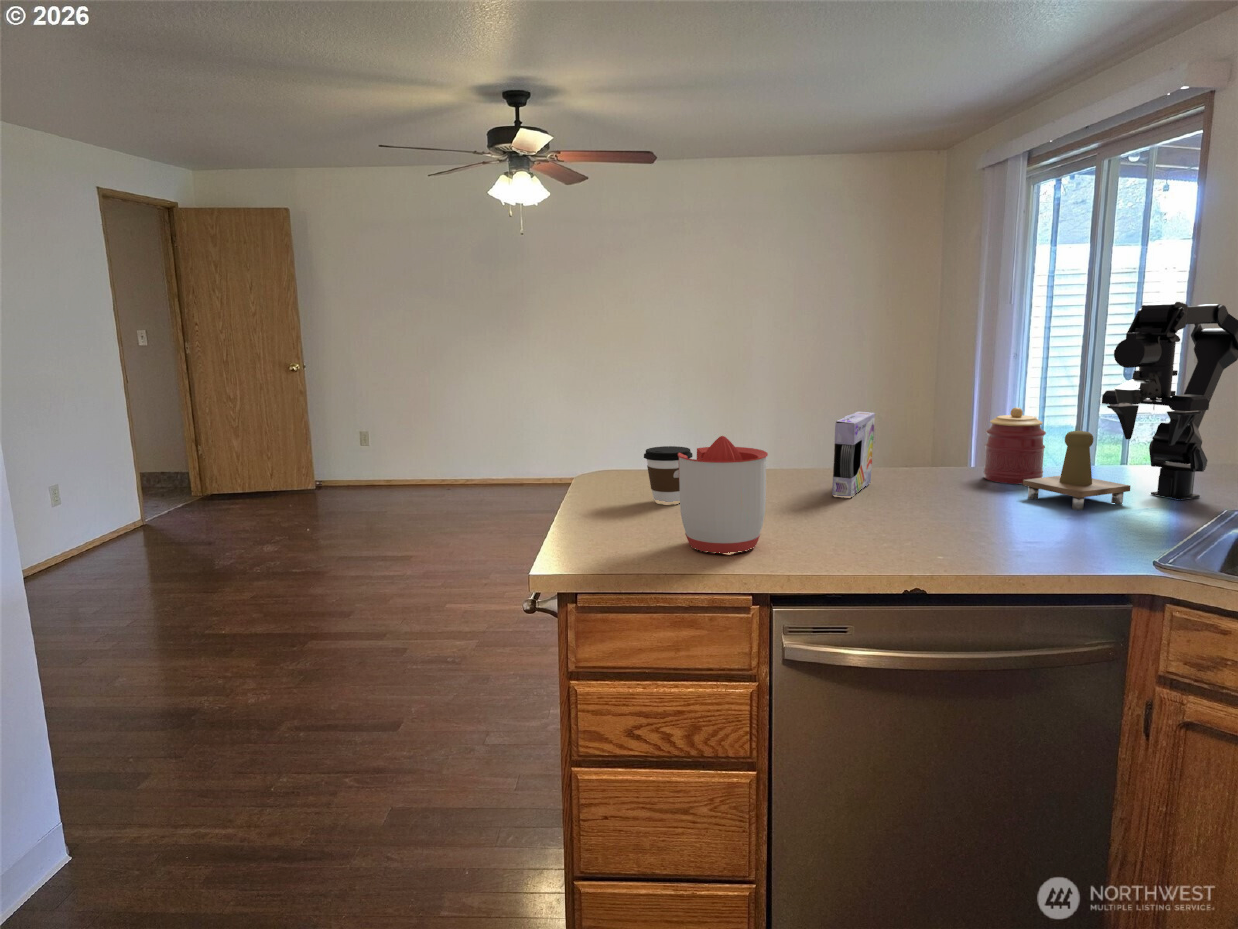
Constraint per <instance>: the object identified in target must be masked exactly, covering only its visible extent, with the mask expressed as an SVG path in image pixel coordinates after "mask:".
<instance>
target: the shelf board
mask: <svg viewBox="0 0 1238 929" xmlns="http://www.w3.org/2000/svg"><path fill="white" fill-rule="evenodd" d="M1060 476H1061V475H1054V476H1046V477H1042V478H1035V479H1027V480H1023V484H1022V486H1025V487H1033V488H1037V489H1039V490H1043V491H1047V492H1051V493H1055V494H1061V495H1065V496H1066V495H1067V496H1069V497H1073V496H1074V497H1078V498H1082V497H1084V498H1088V497H1096V496H1104V495H1112V494H1113V493H1121V492H1124V493H1127V492H1128V493H1129V492H1131V485H1129V484H1125V483H1119V482H1113V481H1109V480H1102V479H1098V478H1092V484H1091V485H1069V484H1063V483H1060V482H1059V481H1060Z"/></svg>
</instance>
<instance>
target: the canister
mask: <svg viewBox="0 0 1238 929" xmlns="http://www.w3.org/2000/svg"><path fill="white" fill-rule="evenodd" d="M1023 414H1024V413H1023V410H1022V408H1021V407H1017V406H1016V407H1015V406H1014V407H1013V408H1012V409H1011V411H1010V414H1007V415H1006V414H1005V415H1002V414H1001V415H998V416H996V417H994V418H992V419H991V420H989V423H990V424H991V426H990V427H989V428H987V429H985V433H986V434H987V440H986V442H985V444H984V446H985V449H984V450H985V454H984V467H983V477H984V479H985V480H987V481H990V482H996V483H1001V484H1008V485H1009V484H1011V485H1023V480H1027V479H1035V478H1044V477H1043V476H1044V474H1043V473H1044V470H1043V469H1044V468H1043V466H1044V457H1045V456H1044V454H1045V453H1044V452H1045V448H1046V445H1044V436H1045V435H1046V434H1047V432H1046V431H1045V430H1044V429H1042V427H1041V426H1042V425H1043V421H1041V420H1039V419H1038V418H1037V417H1036V416H1032V415H1023Z"/></svg>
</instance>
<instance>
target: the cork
mask: <svg viewBox="0 0 1238 929" xmlns="http://www.w3.org/2000/svg"><path fill="white" fill-rule="evenodd" d="M1064 443H1065V445H1066V450H1065V455H1064V460H1063V465H1062V468H1061V471H1060V472H1061V473H1060V475H1059V476H1060V481H1059V482H1060V483H1063V484H1069V485H1091V484H1092V476H1093V475H1092V474H1093V473H1092V465H1091V464H1092V463H1091V460H1092V459H1091V449H1090V448H1091V446H1093V443H1094V436H1093V434H1092V433H1091V432H1089V431H1084V430H1073V431H1072V430H1071V431H1068V432H1067V433H1066V434H1065V436H1064Z"/></svg>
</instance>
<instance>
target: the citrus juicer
mask: <svg viewBox="0 0 1238 929" xmlns="http://www.w3.org/2000/svg"><path fill="white" fill-rule="evenodd" d="M768 456H769V454H768V452H767V451H765V450H762V449H758V448H753V447H746V446H745V447H743V446H735V445H734V444H733V443H732V441H731V440H730V439H728V438H727V437H726V436H725V435H720V436H719V437H717V438H716V439H715V440H714V441H713V442H712V443H711V445H710V446H705V447H696V459H693V458H690V459H689V458H687V457H688V456H686V455H684V454H681V453H678V457H679V470H677V471H675V472H674V478H679V483H680V504H679V507H680V508H679V511H680V516H681V522H682V525H683V528H684V531H685V537H686V540H687V542H688V544H689V546H690V545H691V546H692V547H693V548H696V549H698V550H701V551H700V552H702V551H708V552H716V553H719V552H720V553H728V552H729V553H730V552H738V551H745V550H748V549H750V548H753V547H754V548H756V546H757V545H758V541H759V539H760V537H761V531H762V528H763V525H764V519H765V515H766V503H767V502H766V501H767V500H766V499H767V494H766V493H767V457H768ZM755 545H756V546H755ZM691 546H690V547H691ZM692 547H691V548H692ZM693 548H692V549H693ZM754 548H753V549H754ZM698 550H697V551H698Z"/></svg>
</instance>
